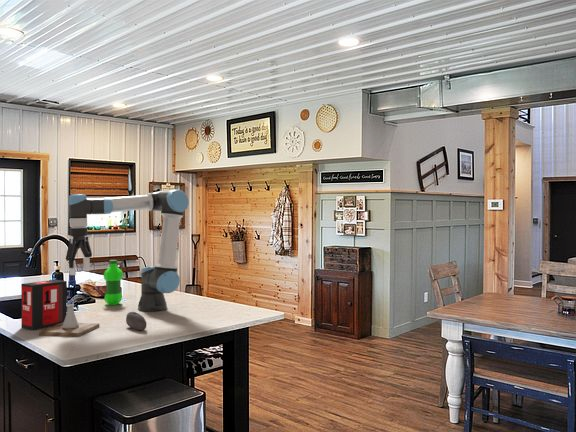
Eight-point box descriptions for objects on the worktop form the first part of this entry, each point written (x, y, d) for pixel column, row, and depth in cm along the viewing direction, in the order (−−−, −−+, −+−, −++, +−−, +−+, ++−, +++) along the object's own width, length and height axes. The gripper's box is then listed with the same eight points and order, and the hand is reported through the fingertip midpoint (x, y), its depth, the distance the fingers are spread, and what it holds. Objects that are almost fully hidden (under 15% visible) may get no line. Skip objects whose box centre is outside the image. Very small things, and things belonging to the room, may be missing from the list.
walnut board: (99, 326, 230) (99, 323, 230) (78, 336, 212) (78, 332, 212) (62, 325, 232) (62, 322, 232) (38, 335, 214) (38, 331, 214)
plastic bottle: (99, 305, 282) (99, 260, 282) (112, 302, 292) (112, 259, 292) (113, 306, 279) (113, 261, 278) (126, 303, 288) (126, 259, 288)
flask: (64, 325, 225) (64, 303, 225) (81, 325, 226) (81, 303, 226) (59, 329, 218) (59, 306, 218) (76, 329, 218) (76, 306, 218)
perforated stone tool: (150, 331, 222) (150, 315, 222) (139, 333, 218) (139, 317, 218) (136, 325, 233) (136, 310, 233) (125, 327, 230) (125, 312, 229)
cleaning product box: (55, 321, 241) (55, 279, 241) (66, 323, 236) (66, 281, 236) (21, 328, 227) (21, 283, 227) (32, 330, 222) (32, 285, 222)
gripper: (83, 226, 246) (84, 269, 247) (56, 229, 221) (57, 276, 222) (98, 226, 246) (99, 269, 246) (72, 228, 221) (74, 276, 221)
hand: (79, 273), depth 234 cm, fingers open, 13 cm apart
